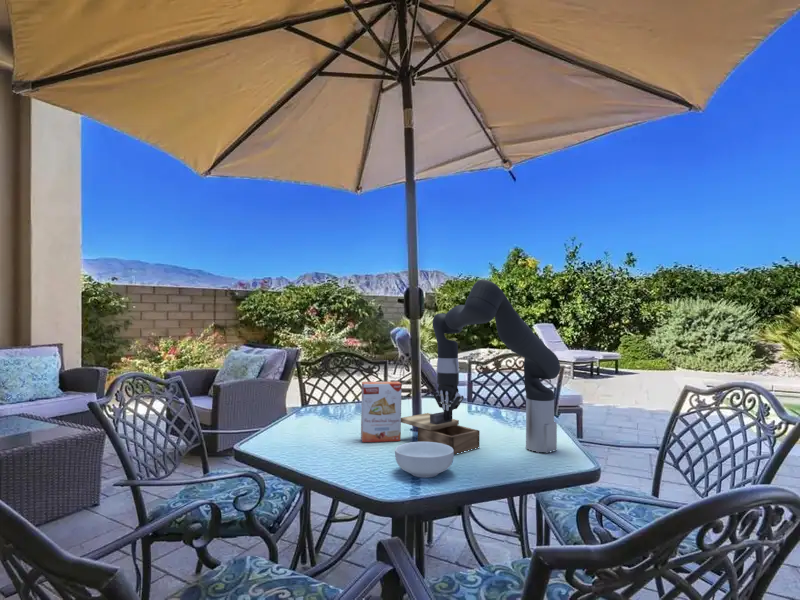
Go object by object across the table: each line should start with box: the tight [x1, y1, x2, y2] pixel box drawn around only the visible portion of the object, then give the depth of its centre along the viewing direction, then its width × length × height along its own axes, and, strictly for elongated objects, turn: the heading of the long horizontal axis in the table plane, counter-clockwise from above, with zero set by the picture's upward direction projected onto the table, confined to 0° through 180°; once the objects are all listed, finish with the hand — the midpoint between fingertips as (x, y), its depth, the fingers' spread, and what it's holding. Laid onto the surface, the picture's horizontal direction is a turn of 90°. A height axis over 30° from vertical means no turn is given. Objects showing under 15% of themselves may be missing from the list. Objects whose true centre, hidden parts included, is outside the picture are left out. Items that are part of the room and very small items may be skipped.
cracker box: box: [360, 381, 403, 443], centre depth 171 cm, size 14×6×21 cm, turn 101°
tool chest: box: [417, 425, 481, 455], centre depth 163 cm, size 16×14×6 cm
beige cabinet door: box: [401, 411, 460, 431], centre depth 170 cm, size 16×14×4 cm
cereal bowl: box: [394, 441, 455, 479], centre depth 136 cm, size 17×17×7 cm
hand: (448, 421), depth 163 cm, fingers closed
